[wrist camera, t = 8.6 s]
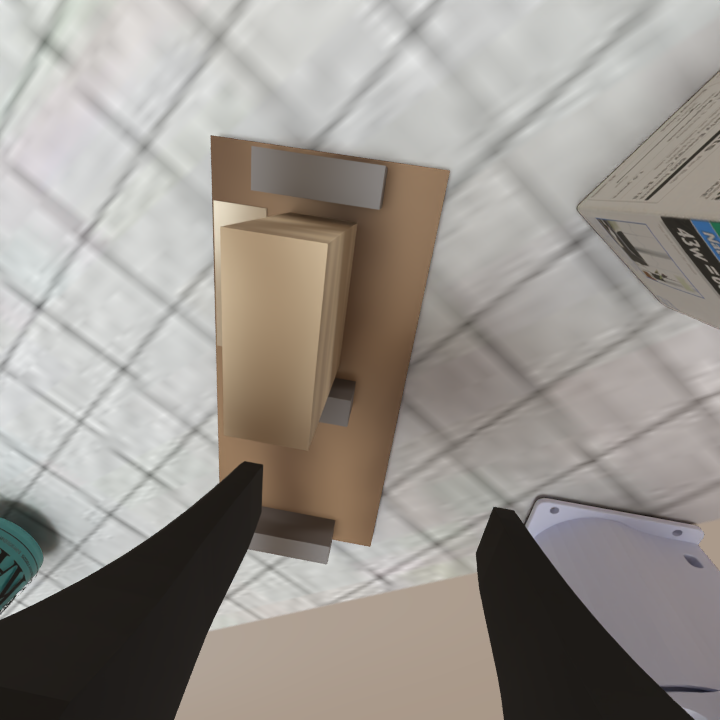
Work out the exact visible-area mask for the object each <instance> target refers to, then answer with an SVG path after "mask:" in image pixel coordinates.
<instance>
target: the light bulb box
mask: <svg viewBox="0 0 720 720" xmlns="http://www.w3.org/2000/svg"><path fill="white" fill-rule="evenodd" d="M578 211H579V213H580V214H581V215H582V216H583V217H584V218H585V219H586V220H587V222H588V223H589V224H590V225H591V226H592V227H593V228H594V229H595V231H596V232H597V233H598V234H599V235H600V236H601V237H602V238H603V239H604V241H605V242H606V243H607V244H608V245H609V246H610V247H611V248H612V249H613V251H614V252H615V253H616V254H617V255H618V256H619V257H620V258H621V259H622V260H623V262H624V263H625V264H626V265H627V266H628V267H629V268H630V269H631V270H632V271H633V273H634V274H635V275H636V276H637V277H638V278H639V279H640V280H641V281H642V282H643V283H644V285H645V286H646V287H647V288H648V289H649V290H650V291H651V292H652V293H653V294H654V295H655V297H656V298H657V299H658V300H659V301H660V302H661V303H662V304H663V305H665V306H666V307H668V308H671V309H673V310H675V311H678V312H680V313H682V314H685V315H687V316H690V317H692V318H694V319H697V320H699V321H701V322H703V323H706V324H708V325H710V326H713V327H715V328H717V329H720V72H718V73H717V74H716V75H715V76H714V77H713V78H712V79H711V80H710V81H709V82H708V83H707V84H706V85H705V86H704V87H703V88H702V89H700V90H699V91H698V92H697V93H696V94H695V95H694V96H693V97H692V98H691V99H690V100H689V101H688V102H687V103H686V104H685V105H684V106H683V107H681V108H680V109H679V110H678V111H677V112H676V113H675V114H674V115H673V116H672V117H671V118H670V119H669V120H668V121H667V122H666V123H665V124H664V125H662V126H661V127H660V128H659V129H658V130H657V131H656V132H655V133H654V134H653V135H652V136H651V137H650V138H649V139H648V140H647V141H646V142H645V143H644V144H642V145H641V146H640V147H639V148H638V149H637V150H636V151H635V152H634V153H633V154H632V155H631V156H630V157H629V158H628V159H627V160H626V161H625V162H624V163H623V164H621V165H620V166H619V167H618V168H617V169H616V170H615V171H614V172H613V173H612V174H611V175H610V176H609V177H608V178H607V179H606V180H605V181H604V182H602V183H601V184H600V185H599V186H598V187H597V188H596V189H595V190H594V191H593V192H592V193H591V194H590V195H589V196H588V197H587V198H586V199H585V200H584V201H582V202H581V203H580V204H579V206H578Z"/></svg>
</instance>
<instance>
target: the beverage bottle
mask: <svg viewBox="0 0 720 720" xmlns="http://www.w3.org/2000/svg"><path fill="white" fill-rule="evenodd" d="M42 563H43V553H42V550H41V548H40V546H39V545H38V543H37V542H36V541H35V540H34V538H33V537H32V536H31V535H30V534H29V533H27V532H26V531H25V530H24V529H22V528H21V527H19V526H18V525H16V524H14V523H12V522H10V521H8V520H6V519H3V518H0V613H1V612H3V611H4V610H5V608H6V607H5V606H7V605H9V604H10V603H11V602H12V601H13V600H14V598H15V597H16V596H17V595H16V594H17V593H18V592H19V591H21V589H22V588H23V587H24V586H25V585H26V584H30V583H31V582H32V578H33V577H34V576H35V574H36V573H38V570H39V568H40V567H41V565H42ZM36 576H37V574H36ZM35 578H36V577H35ZM29 581H31V582H30V583H28V582H29ZM25 588H26V587H25ZM23 590H24V588H23ZM18 596H19V595H18ZM18 596H17V597H18ZM12 598H13V599H12ZM11 599H12V601H10V600H11ZM3 608H4V610H2V609H3ZM1 610H2V611H1Z"/></svg>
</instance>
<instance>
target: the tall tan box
mask: <svg viewBox="0 0 720 720" xmlns="http://www.w3.org/2000/svg"><path fill="white" fill-rule="evenodd" d="M356 231H357V223H356V222H350V221H343V220H337V219H330V218H324V217H318V216H311V215H305V214H298V213H292V212H289V213H284V214H279V215H275V216H270V217H265V218H260V219H255V220H250V221H245V222H240V223H236V224H231V225H226V226H221V227H220V246H221V302H222V357H223V413H224V436H229V437H235V438H240V439H246V440H251V441H257V442H262V443H268V444H273V445H279V446H284V447H290V448H295V449H301V450H306V451H308V449H309V446H310V444H311V441H312V438H313V436H314V433H315V430H316V427H317V425H318V422H319V419H320V417H321V414H322V411H323V409H324V406H325V403H326V401H327V398H328V395H329V392H330V390H331V387H332V384H333V382H334V379H335V376H336V374H337V371H338V368H339V365H340V357H341V349H342V342H343V334H344V326H345V318H346V310H347V302H348V294H349V286H350V278H351V270H352V262H353V254H354V247H355V239H356Z"/></svg>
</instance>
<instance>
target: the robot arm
mask: <svg viewBox="0 0 720 720" xmlns="http://www.w3.org/2000/svg"><path fill="white" fill-rule="evenodd" d="M262 487H263V464H258V463H253V462H247V461H244V462H242V463H241V464H240V465H238V466H237V467H236V468H235V469H234V470H233V471H232V472H231V473H230V474H229V475H228V476H226V477H225V478H224V479H223V480H222V481H221V482H220V483H219V484H217V485H216V486H215V487H214V488H213V489H212V490H211V491H209V492H208V493H207V494H206V495H205V496H203V497H202V498H201V499H200V500H199V501H197V502H196V503H195V504H194V505H193V506H191V507H190V508H189V509H188V510H186V511H185V512H184V513H183V514H181V515H180V516H179V517H177V518H176V519H175V520H173V521H172V522H171V523H169V524H168V525H167V526H165V527H164V528H163V529H161V530H160V531H159V532H157V533H156V534H154V535H153V536H152V537H150V538H149V539H147V540H146V541H144V542H143V543H141V544H140V545H138V546H137V547H135V548H134V549H132V550H131V551H129V552H128V553H126V554H124V555H123V556H121V557H120V558H118V559H116V560H115V561H113V562H111V563H110V564H108V565H106V566H105V567H103V568H101V569H100V570H98V571H96V572H95V573H93V574H91V575H89V576H88V577H86V578H84V579H82V580H80V581H79V582H77V583H75V584H73V585H71V586H69V587H67V588H65V589H63V590H61V591H59V592H57V593H56V594H54V595H52V596H50V597H48V598H46V599H44V600H42V601H40V602H38V603H36V604H34V605H32V606H30V607H28V608H26V609H23V610H21V611H19V612H17V613H15V614H13V615H10V616H8V617H6V618H4V619H1V620H0V720H174V718H175V716H176V713H177V710H178V708H179V705H180V702H181V700H182V697H183V694H184V692H185V689H186V686H187V684H188V681H189V679H190V676H191V673H192V671H193V668H194V666H195V663H196V660H197V658H198V655H199V653H200V650H201V648H202V645H203V643H204V640H205V637H206V635H207V633H208V631H209V628H210V626H211V624H212V622H213V619H214V617H215V615H216V613H217V611H218V609H219V607H220V605H221V603H222V601H223V599H224V597H225V595H226V593H227V591H228V589H229V587H230V585H231V583H232V581H233V579H234V577H235V574H236V572H237V570H238V568H239V566H240V564H241V562H242V560H243V558H244V556H245V554H246V552H247V550H248V548H249V546H250V543H251V541H252V538H253V535H254V532H255V530H256V527H257V524H258V521H259V518H260V516H261V513H262ZM553 507H555V508H553ZM551 508H553V509H551ZM703 537H704V532H703V531H702V530H701V528H699V526H696V525H692V524H686V523H681V522H675V521H669V520H664V519H658V518H653V517H647V516H642V515H636V514H631V513H625V512H620V511H614V510H609V509H603V508H598V507H592V506H587V505H581V504H576V503H570V502H565V501H559V500H554V499H548V498H541V499H539V500H537V501H536V503H535V505H534V507H533V509H532V511H531V514H530V516H529V518H528V520H527V523H526V525H524V524H523V523H522V521H521V520H520V518H519V517H518V516H517V514H516V513H515V511H514V510H508V509H503V508H497V507H493V510H492V513H491V515H490V518H489V520H488V523H487V526H486V528H485V531H484V533H483V536H482V539H481V541H480V544H479V546H478V549H477V552H476V560H477V572H478V582H479V590H480V595H481V599H482V604H483V610H484V615H485V619H486V624H487V628H488V633H489V638H490V643H491V647H492V652H493V657H494V661H495V666H496V671H497V676H498V681H499V687H500V693H501V700H502V707H503V714H504V720H720V571H719V570H718V569H717V567H716V566H715V565H714V564H713V562H712V561H711V560H710V559H709V558H708V556H707V555H706V554H705V553H704V551H703V550H702V549H701V548H700V547H699V545H698V544H699V543H700V542H701V540H702V539H703Z"/></svg>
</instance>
